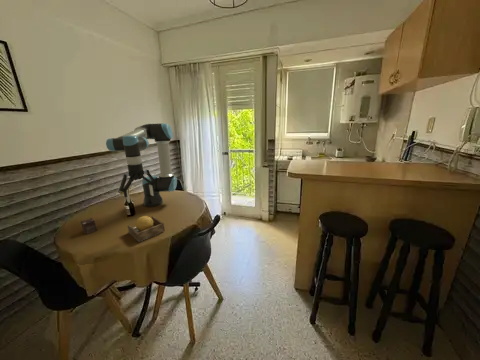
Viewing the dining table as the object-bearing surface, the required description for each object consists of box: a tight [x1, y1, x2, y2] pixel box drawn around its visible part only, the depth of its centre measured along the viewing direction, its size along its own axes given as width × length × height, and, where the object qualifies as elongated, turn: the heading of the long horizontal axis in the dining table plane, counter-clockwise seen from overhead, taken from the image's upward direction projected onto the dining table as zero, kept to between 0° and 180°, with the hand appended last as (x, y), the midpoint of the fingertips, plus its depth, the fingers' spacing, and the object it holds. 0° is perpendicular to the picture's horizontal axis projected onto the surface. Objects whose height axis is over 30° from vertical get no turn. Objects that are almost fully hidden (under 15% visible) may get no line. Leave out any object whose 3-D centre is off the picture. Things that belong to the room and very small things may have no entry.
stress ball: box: [135, 215, 153, 232], centre depth 125 cm, size 10×10×10 cm
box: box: [80, 217, 98, 235], centre depth 128 cm, size 6×6×7 cm
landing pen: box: [127, 215, 166, 243], centre depth 126 cm, size 16×16×6 cm
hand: (140, 198), depth 120 cm, fingers open, 13 cm apart
